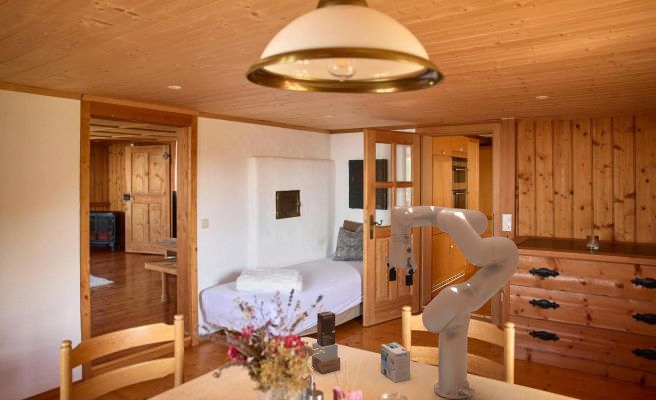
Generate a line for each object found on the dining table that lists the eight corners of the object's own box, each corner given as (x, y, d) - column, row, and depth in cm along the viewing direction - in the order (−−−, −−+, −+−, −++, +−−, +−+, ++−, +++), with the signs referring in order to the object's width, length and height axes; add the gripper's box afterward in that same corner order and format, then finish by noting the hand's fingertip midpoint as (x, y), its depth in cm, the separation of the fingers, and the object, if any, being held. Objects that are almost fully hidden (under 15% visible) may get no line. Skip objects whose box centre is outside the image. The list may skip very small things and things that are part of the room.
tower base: (340, 370, 187) (340, 357, 186) (322, 375, 183) (322, 362, 182) (329, 364, 194) (329, 351, 193) (311, 368, 189) (311, 355, 189)
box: (322, 347, 184) (322, 315, 184) (316, 343, 188) (316, 312, 187) (336, 344, 187) (335, 313, 186) (330, 341, 191) (330, 310, 190)
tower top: (337, 357, 187) (337, 344, 187) (322, 361, 183) (322, 348, 183) (327, 352, 193) (327, 339, 192) (312, 356, 189) (312, 343, 188)
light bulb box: (380, 372, 184) (380, 344, 184) (395, 369, 187) (395, 341, 187) (394, 383, 175) (394, 353, 174) (410, 379, 177) (410, 350, 177)
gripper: (423, 240, 180) (423, 286, 181) (394, 235, 195) (394, 278, 195) (408, 241, 176) (408, 288, 177) (379, 236, 191) (379, 280, 191)
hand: (400, 283), depth 186 cm, fingers open, 9 cm apart
